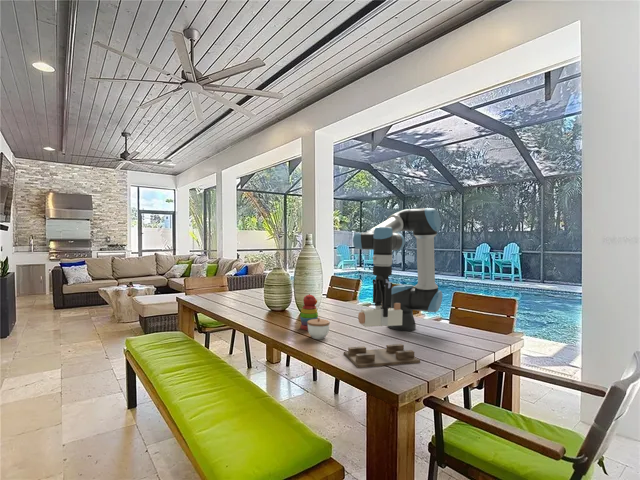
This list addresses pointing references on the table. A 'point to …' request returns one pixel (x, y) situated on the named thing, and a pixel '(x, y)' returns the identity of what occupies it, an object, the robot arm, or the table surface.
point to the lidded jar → (318, 328)
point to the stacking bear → (308, 311)
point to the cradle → (380, 356)
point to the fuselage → (374, 316)
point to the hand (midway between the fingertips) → (381, 323)
